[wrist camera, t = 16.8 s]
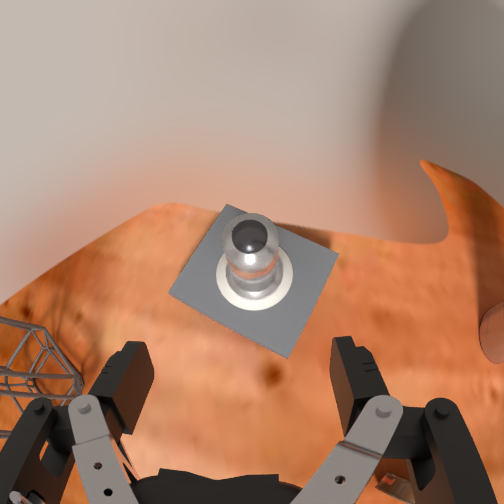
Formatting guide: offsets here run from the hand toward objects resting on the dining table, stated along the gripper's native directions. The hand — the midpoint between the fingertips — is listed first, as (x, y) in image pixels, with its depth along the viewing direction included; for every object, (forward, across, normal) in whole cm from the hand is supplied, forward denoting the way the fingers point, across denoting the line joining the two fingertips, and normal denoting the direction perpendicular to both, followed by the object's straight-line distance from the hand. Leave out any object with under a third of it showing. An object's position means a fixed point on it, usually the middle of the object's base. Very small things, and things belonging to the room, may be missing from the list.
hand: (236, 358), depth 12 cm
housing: (+23, 0, +6) cm, 24 cm away
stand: (+26, 0, +9) cm, 28 cm away
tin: (+4, -20, +32) cm, 38 cm away
